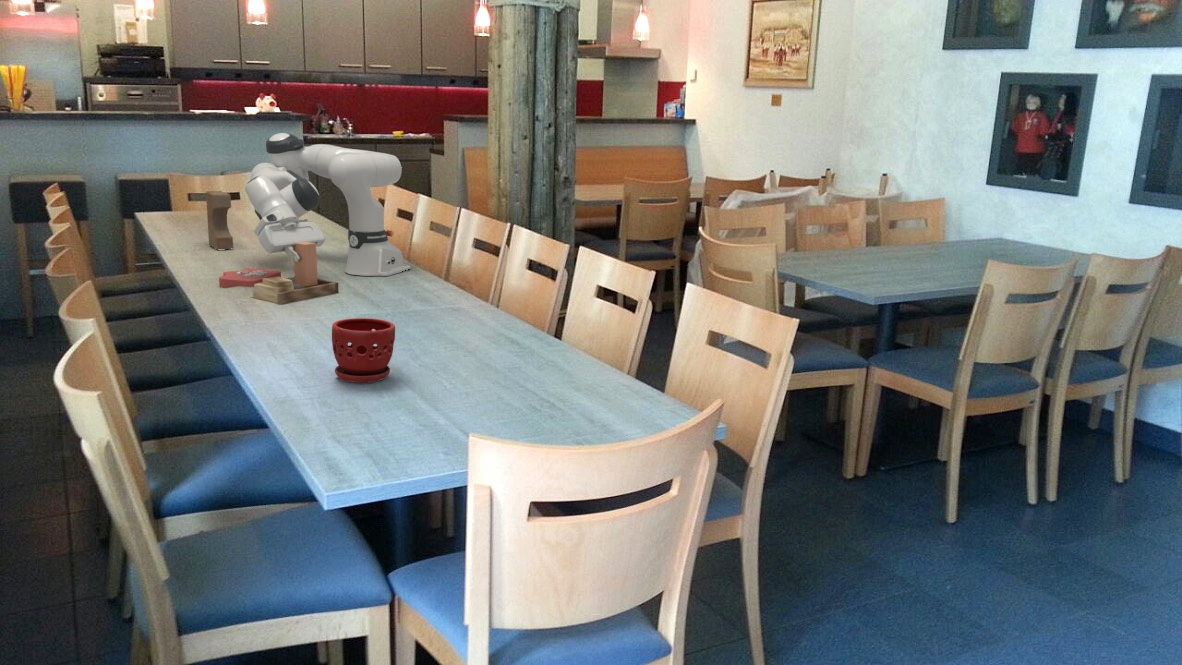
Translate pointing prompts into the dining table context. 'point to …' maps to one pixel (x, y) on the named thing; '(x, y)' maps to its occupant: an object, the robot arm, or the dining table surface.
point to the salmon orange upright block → (306, 264)
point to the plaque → (246, 277)
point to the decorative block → (218, 219)
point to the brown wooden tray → (307, 292)
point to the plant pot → (362, 349)
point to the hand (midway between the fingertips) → (306, 259)
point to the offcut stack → (272, 288)
